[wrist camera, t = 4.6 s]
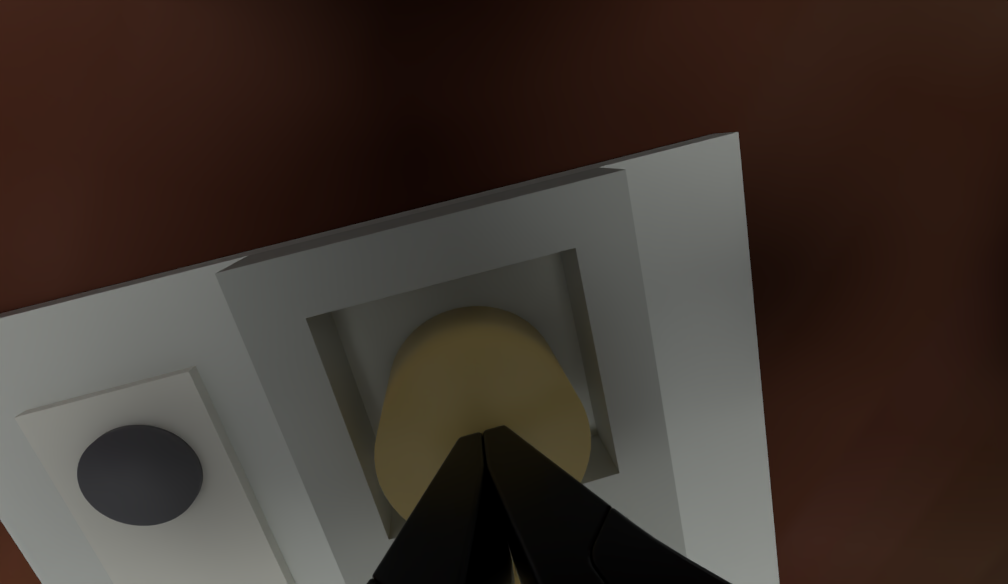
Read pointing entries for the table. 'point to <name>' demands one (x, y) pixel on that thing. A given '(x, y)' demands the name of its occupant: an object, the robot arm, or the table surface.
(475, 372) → the button
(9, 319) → the board
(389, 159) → the table surface
